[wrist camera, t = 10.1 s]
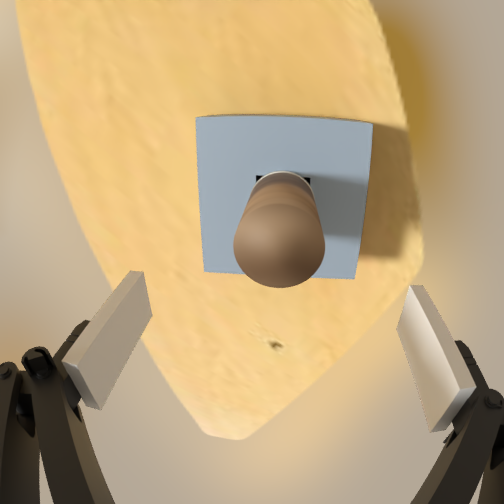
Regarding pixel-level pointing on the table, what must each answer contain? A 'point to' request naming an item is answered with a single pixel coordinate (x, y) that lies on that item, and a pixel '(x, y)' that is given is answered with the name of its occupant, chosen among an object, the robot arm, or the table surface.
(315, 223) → the peg
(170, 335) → the table surface
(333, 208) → the seat block
